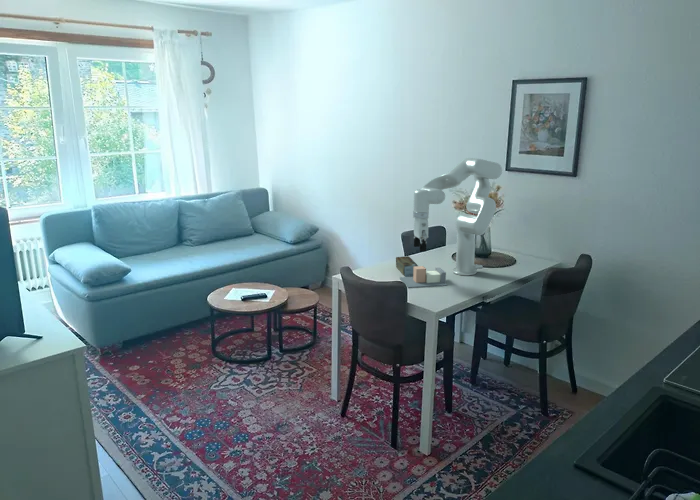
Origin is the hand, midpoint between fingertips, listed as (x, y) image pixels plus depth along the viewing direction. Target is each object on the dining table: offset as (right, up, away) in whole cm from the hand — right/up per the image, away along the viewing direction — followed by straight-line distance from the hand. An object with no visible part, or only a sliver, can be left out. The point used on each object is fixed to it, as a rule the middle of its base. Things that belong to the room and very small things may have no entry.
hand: (419, 248), depth 265 cm
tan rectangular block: (0, -17, +4) cm, 17 cm away
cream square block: (+8, -17, +6) cm, 19 cm away
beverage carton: (-4, -13, +23) cm, 27 cm away
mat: (+2, -17, +5) cm, 18 cm away
